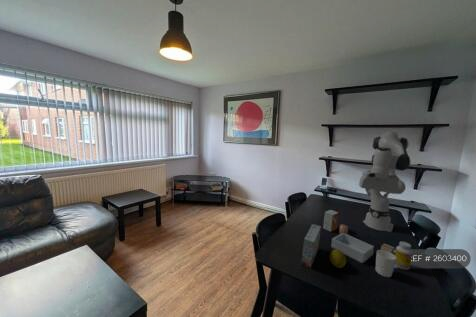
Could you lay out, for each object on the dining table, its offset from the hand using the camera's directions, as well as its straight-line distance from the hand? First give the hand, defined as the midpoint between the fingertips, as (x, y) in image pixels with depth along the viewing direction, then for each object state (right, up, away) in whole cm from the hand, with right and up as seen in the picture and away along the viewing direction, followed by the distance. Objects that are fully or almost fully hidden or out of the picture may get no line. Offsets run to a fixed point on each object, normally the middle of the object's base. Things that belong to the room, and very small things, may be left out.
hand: (376, 196), depth 118 cm
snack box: (-44, -33, -9) cm, 56 cm away
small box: (-18, -29, +24) cm, 41 cm away
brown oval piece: (-13, -30, +15) cm, 36 cm away
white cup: (-11, -35, -20) cm, 42 cm away
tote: (-17, -32, -3) cm, 37 cm away
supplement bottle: (+3, -35, -14) cm, 38 cm away
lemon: (-33, -34, -16) cm, 50 cm away
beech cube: (+2, -34, -5) cm, 34 cm away
